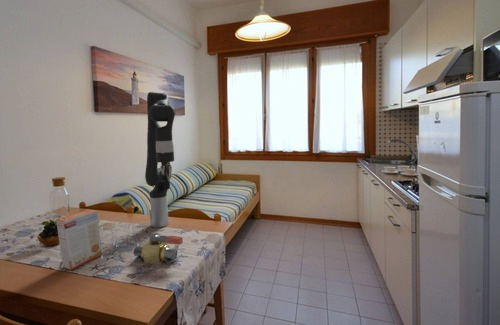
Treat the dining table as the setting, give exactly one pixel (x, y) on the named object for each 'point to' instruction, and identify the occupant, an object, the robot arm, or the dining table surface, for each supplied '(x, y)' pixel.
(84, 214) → the cracker box
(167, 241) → the lever
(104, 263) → the dining table surface
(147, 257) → the valve pipe
